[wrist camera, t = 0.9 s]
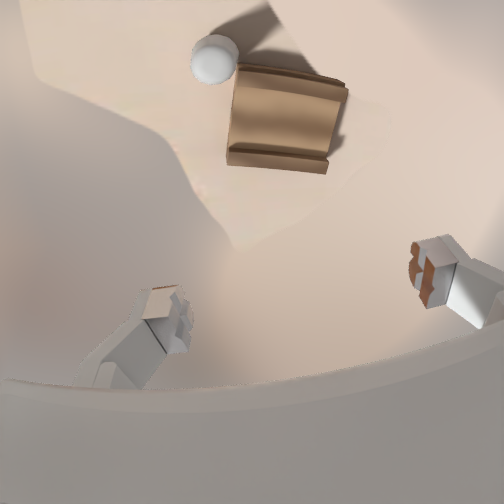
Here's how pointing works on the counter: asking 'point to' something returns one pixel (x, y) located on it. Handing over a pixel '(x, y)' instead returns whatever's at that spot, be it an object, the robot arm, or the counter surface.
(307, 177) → the counter surface
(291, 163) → the display stand
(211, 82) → the salt shaker
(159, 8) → the counter surface
